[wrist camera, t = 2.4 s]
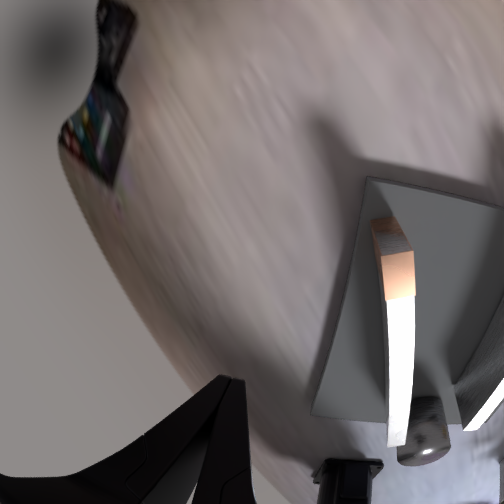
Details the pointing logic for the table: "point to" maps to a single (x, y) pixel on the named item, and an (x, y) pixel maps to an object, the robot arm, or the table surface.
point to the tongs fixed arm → (483, 376)
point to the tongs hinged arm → (404, 353)
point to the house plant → (501, 482)
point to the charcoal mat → (416, 300)
